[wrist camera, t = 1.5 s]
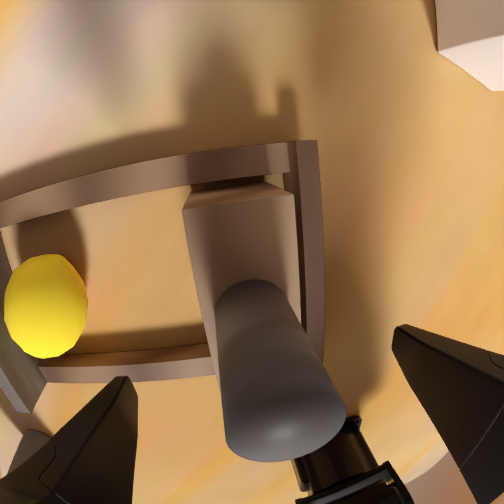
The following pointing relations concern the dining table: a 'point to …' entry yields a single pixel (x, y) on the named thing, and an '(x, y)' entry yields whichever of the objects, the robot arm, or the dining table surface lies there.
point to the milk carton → (473, 38)
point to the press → (146, 180)
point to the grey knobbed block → (258, 323)
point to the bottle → (28, 447)
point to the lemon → (45, 306)
